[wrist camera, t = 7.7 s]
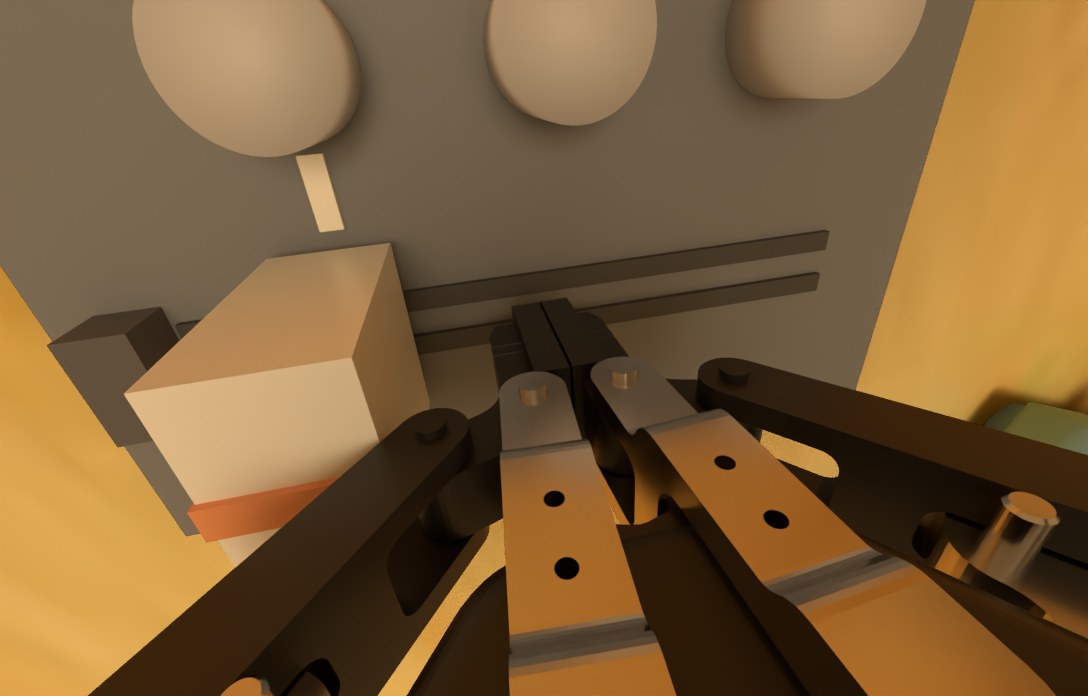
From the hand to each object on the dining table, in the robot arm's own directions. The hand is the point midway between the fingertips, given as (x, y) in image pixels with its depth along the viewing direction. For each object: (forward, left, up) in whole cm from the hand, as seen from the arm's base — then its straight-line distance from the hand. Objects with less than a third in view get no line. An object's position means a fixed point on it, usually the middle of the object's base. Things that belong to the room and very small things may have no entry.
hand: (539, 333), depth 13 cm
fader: (+5, 0, -1) cm, 5 cm away
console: (0, -2, -4) cm, 4 cm away
